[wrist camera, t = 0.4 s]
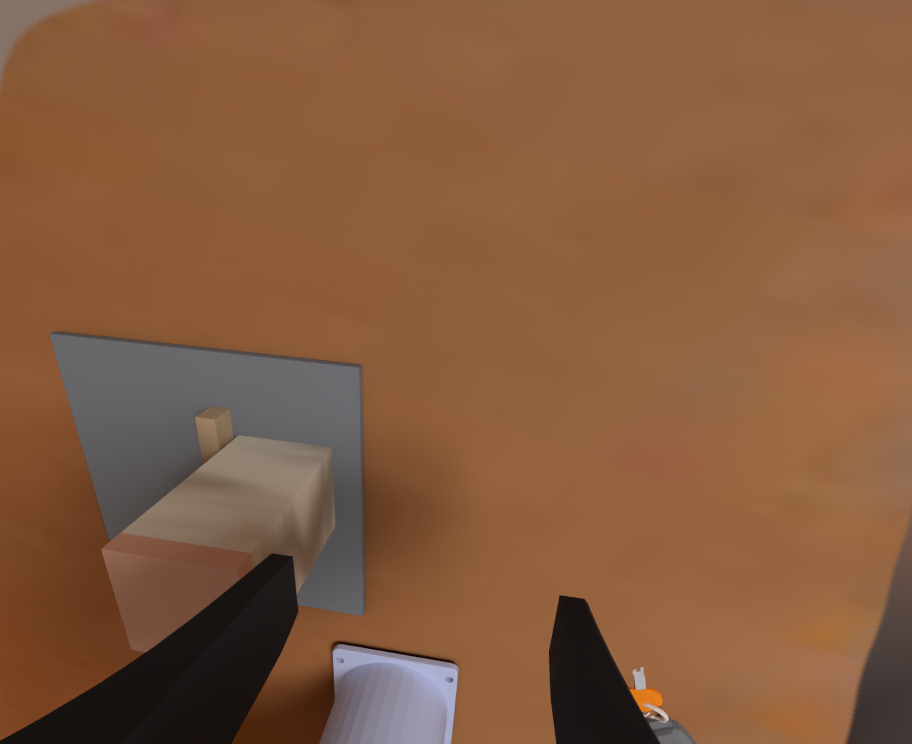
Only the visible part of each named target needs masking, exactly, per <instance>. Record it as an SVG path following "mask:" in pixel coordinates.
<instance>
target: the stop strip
mask: <svg viewBox="0 0 912 744" xmlns="http://www.w3.org/2000/svg"><path fill="white" fill-rule="evenodd" d="M195 420H196V426H197V432H198V438H199V443H200V449H201V455H202V461H203V464H205V463H206V462H207V461H208V460H209V459H211V458H212V457H213V456H214V455H216V454H217V453H218V452H219V451H220V450H222V449H223V448H224V447H225V446H226V445H228V444H229V443H230V442H231V441H233V440H234V436H233V428H232V421H231V414H230V409H229V408H221V407H212V406H211V407H209V408H208V409H206V410H205V411H203V412H202V413H200V414H199V415H197V416H196V417H195Z"/></svg>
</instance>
